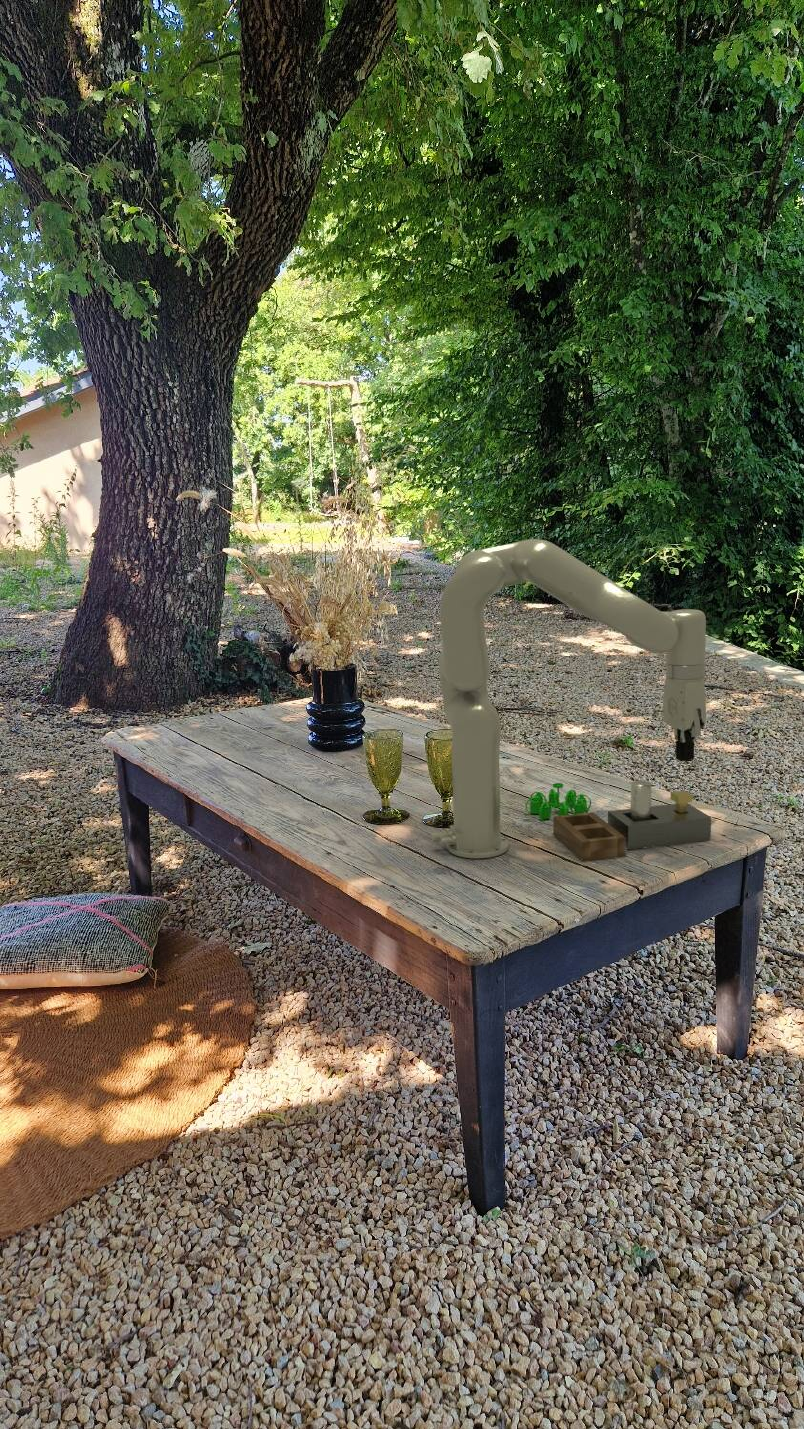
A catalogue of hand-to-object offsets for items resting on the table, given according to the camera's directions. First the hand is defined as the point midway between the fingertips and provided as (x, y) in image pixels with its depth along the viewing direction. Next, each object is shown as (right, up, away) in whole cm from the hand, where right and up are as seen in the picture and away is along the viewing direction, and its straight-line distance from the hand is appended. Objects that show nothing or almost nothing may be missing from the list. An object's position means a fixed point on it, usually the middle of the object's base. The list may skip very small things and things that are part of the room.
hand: (684, 759), depth 186 cm
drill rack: (-20, -18, 0) cm, 27 cm away
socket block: (-5, -16, +3) cm, 17 cm away
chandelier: (-22, -14, +20) cm, 33 cm away
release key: (0, -13, +3) cm, 14 cm away
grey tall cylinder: (-9, -17, +2) cm, 19 cm away
